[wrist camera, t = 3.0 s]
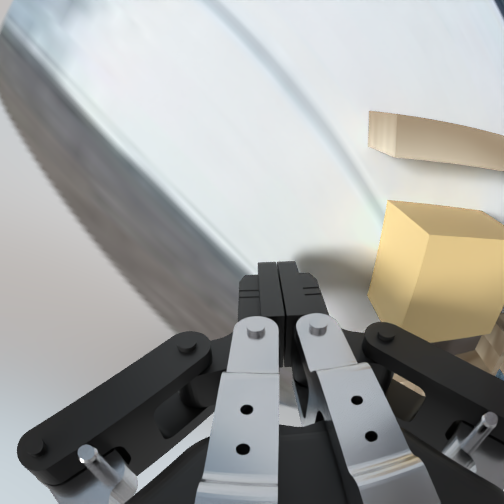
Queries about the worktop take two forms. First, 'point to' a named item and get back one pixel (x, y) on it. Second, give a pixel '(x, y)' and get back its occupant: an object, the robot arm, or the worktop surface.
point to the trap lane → (456, 152)
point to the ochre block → (439, 271)
